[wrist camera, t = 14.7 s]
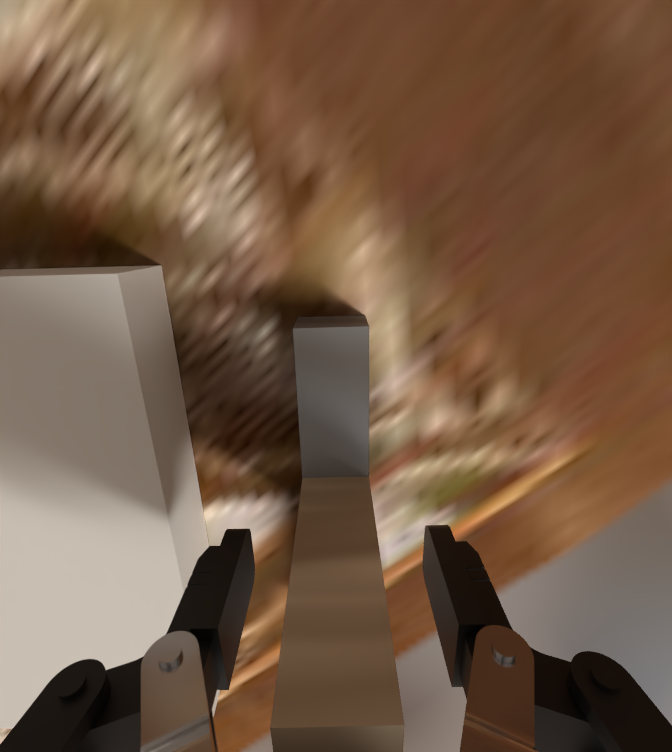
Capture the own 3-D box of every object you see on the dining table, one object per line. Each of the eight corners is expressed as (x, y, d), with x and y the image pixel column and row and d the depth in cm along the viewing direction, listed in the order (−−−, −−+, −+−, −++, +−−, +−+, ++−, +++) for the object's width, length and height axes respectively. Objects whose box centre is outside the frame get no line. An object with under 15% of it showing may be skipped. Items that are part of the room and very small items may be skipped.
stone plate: (-119, 272, 14) (-232, 282, 11) (161, 265, 14) (117, 273, 11) (39, 661, 21) (-7, 728, 18) (227, 658, 21) (211, 725, 18)
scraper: (297, 316, 15) (235, 461, 5) (364, 314, 15) (417, 456, 5) (314, 596, 20) (296, 932, 10) (365, 595, 20) (393, 930, 10)
